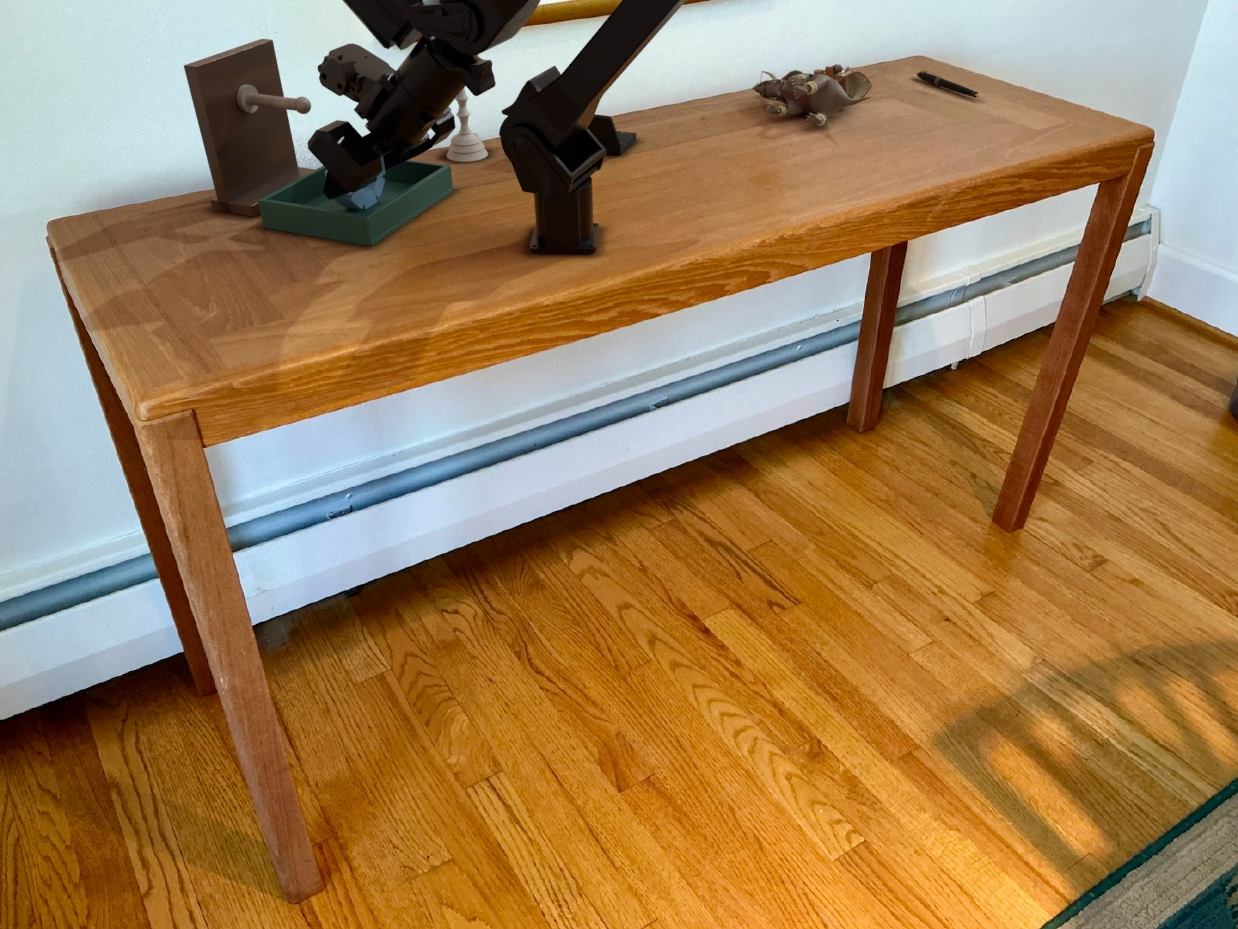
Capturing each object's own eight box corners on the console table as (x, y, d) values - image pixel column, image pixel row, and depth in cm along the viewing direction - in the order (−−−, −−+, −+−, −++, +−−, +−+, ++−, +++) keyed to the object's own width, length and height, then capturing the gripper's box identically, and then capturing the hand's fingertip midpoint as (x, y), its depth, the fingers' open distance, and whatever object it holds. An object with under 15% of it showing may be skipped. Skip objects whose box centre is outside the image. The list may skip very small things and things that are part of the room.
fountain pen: (986, 101, 137) (989, 90, 136) (980, 102, 137) (982, 91, 136) (918, 77, 148) (920, 66, 147) (912, 78, 147) (914, 67, 146)
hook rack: (359, 185, 112) (336, 45, 104) (293, 223, 103) (262, 73, 95) (282, 174, 116) (253, 37, 107) (212, 210, 107) (175, 64, 98)
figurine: (723, 69, 132) (792, 46, 142) (723, 116, 135) (790, 90, 146) (858, 85, 120) (921, 59, 131) (853, 136, 124) (916, 107, 134)
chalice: (441, 145, 123) (423, -12, 113) (496, 144, 124) (483, -14, 113) (437, 165, 118) (417, 1, 107) (494, 163, 118) (480, -1, 107)
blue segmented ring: (389, 195, 108) (379, 130, 104) (352, 217, 103) (341, 151, 99) (369, 192, 109) (359, 128, 105) (332, 214, 104) (320, 148, 100)
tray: (453, 191, 111) (450, 164, 109) (372, 246, 98) (367, 217, 97) (353, 176, 115) (349, 151, 113) (263, 227, 102) (257, 200, 101)
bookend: (639, 121, 125) (619, 68, 116) (635, 170, 123) (615, 121, 114) (552, 129, 128) (527, 78, 119) (547, 177, 126) (521, 130, 117)
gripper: (416, -1, 101) (344, 100, 111) (304, 40, 87) (233, 151, 97) (491, 86, 103) (414, 177, 113) (394, 140, 89) (315, 238, 99)
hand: (347, 183), depth 105 cm, fingers closed on blue segmented ring, 7 cm apart
